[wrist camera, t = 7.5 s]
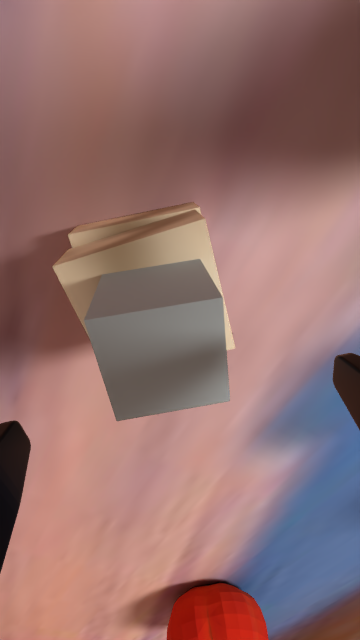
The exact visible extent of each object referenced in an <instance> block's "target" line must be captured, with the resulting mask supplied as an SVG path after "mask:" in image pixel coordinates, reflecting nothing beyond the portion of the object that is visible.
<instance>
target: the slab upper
mask: <svg viewBox="0 0 360 640" xmlns="http://www.w3.org/2000/svg"><path fill="white" fill-rule="evenodd" d="M195 259H200V260H201V261H202V263H203V265H204V266H205V268H206V270H207V272H208V273H209V275H210V277H211V278H212V280H213V282H214V283H215V285H216V287H217V288H218V290H219V292H220V294H221V295H222V297H223V293H222V289H221V285H220V280H219V276H218V272H217V267H216V263H215V259H214V255H213V250H212V246H211V242H210V237H209V233H208V229H207V225H206V220H205V218H204V217H203V216H202V215H201V214H200V213H199V212H197V211H196V210H195V209H194V210H191V211H188V212H185V213H182V214H178V215H175V216H172V217H169V218H166V219H163V220H159V221H156V222H153V223H150V224H147V225H144V226H141V227H137V228H134V229H131V230H128V231H125V232H122V233H118V234H115V235H112V236H109V237H106V238H103V239H100V240H96V241H93V242H90V243H87V244H84V245H81V246H77V247H74V248H71V249H68V250H67V251H66V252H65V253H64V254H63V255H62V257H61V258H60V259H59V260H58V261H57V262H56V263H55V264H54V265H53V266H52V267H53V269H54V271H55V273H56V275H57V277H58V279H59V281H60V283H61V285H62V287H63V289H64V291H65V293H66V295H67V297H68V298H69V300H70V302H71V304H72V306H73V308H74V310H75V312H76V314H77V316H78V318H79V320H80V322H81V324H82V326H83V328H84V329H85V331H86V333H87V335H88V332H87V329H86V326H85V322H84V319H85V316H86V314H87V311H88V309H89V306H90V304H91V301H92V298H93V296H94V293H95V291H96V288H97V286H98V283H99V281H100V278H101V276H102V274H109V273H115V272H121V271H127V270H133V269H139V268H146V267H152V266H158V265H164V264H170V263H176V262H183V261H189V260H195ZM223 308H224V323H225V337H226V351H227V350H230V349H234V348H235V345H234V340H233V336H232V332H231V327H230V323H229V319H228V315H227V310H226V306H225V302H224V297H223ZM88 337H89V335H88ZM89 339H90V338H89Z"/></svg>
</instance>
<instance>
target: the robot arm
mask: <svg viewBox="0 0 360 640" xmlns="http://www.w3.org/2000/svg"><path fill="white" fill-rule="evenodd" d="M333 383H334V386H335V388H336V390H337V391H338V393H339V395H340V397H341V398H342V400H343V402H344V404H345V405H346V407H347V409H348V411H349V412H350V414H351V416H352V418H353V419H354V421H355V423H356V425H357V426H358V428H359V430H360V356H359V355H356V354H353V353H347V354H342V355H338V356H336V357H335V360H334V370H333ZM30 448H31V444H30V440H29V438H28V436H27V435H26V433H25V431H24V430H23V428H22V426H21V425H20V423H19V422H18V421H9V422H4V423H1V424H0V573H1V569H2V566H3V562H4V559H5V555H6V552H7V548H8V545H9V541H10V538H11V534H12V531H13V528H14V524H15V521H16V517H17V514H18V510H19V506H20V502H21V497H22V492H23V487H24V481H25V476H26V471H27V465H28V460H29V454H30Z"/></svg>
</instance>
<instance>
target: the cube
mask: <svg viewBox="0 0 360 640" xmlns="http://www.w3.org/2000/svg"><path fill="white" fill-rule="evenodd" d="M84 322H85V326H86V329H87V332H88V335H89V338H90V341H91V344H92V347H93V350H94V353H95V356H96V359H97V362H98V365H99V368H100V371H101V375H102V378H103V381H104V384H105V387H106V390H107V393H108V396H109V399H110V402H111V405H112V408H113V411H114V414H115V417H116V421H121V420H126V419H132V418H138V417H143V416H149V415H155V414H160V413H166V412H172V411H177V410H183V409H188V408H194V407H200V406H205V405H211V404H217V403H222V402H228V401H230V393H229V379H228V365H227V351H226V337H225V323H224V308H223V297H222V295H221V294H220V292H219V290H218V288H217V287H216V285H215V283H214V282H213V280H212V278H211V277H210V275H209V273H208V272H207V270H206V268H205V266H204V265H203V263H202V261H201V260H200V259H195V260H189V261H183V262H176V263H170V264H164V265H158V266H152V267H146V268H139V269H133V270H127V271H121V272H115V273H109V274H102V276H101V278H100V281H99V283H98V286H97V288H96V291H95V293H94V296H93V298H92V301H91V304H90V306H89V309H88V311H87V314H86V316H85V319H84Z"/></svg>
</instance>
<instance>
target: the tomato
mask: <svg viewBox="0 0 360 640" xmlns="http://www.w3.org/2000/svg"><path fill="white" fill-rule="evenodd" d="M167 640H268V634H267V628H266V622H265V620H264V617H263V614H262V612H261V609H260V607H259V606H258V604H257V603H256V601H255V599H254V598H253V597H251V596H250V595H249V594H248V593H246V592H244V591H242V590H240V589H238V588H236V587H234V586H232V585H228V584H225V583H217V584H213V585H209V586H199V587H194V588H192V589H190V590H189V591H187V592H186V593H184V594H183V595H182V596H180V597H179V598H178V599H177V601H176V602H175V604H174V606H173V609H172V613H171V617H170V620H169V624H168V628H167Z"/></svg>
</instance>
